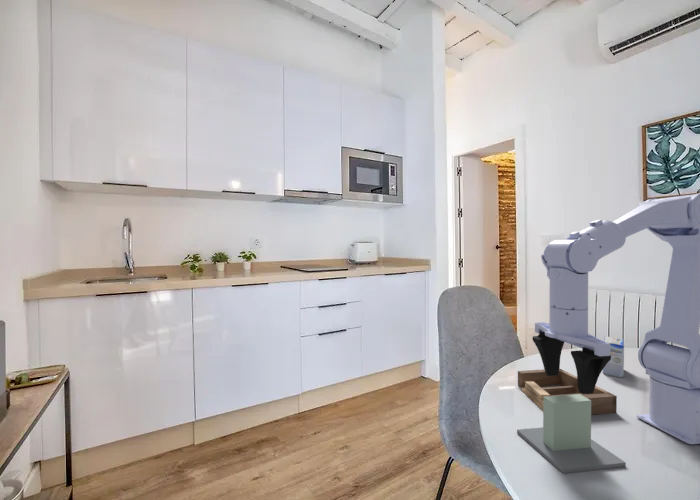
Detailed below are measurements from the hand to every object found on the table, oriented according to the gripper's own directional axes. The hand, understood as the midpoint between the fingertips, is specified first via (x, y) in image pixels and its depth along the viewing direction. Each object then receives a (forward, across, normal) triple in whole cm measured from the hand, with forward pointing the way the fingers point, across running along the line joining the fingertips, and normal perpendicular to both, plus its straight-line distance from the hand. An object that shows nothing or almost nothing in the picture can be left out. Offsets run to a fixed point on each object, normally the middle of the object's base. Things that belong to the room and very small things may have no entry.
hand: (568, 383), depth 59 cm
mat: (+10, +2, -2) cm, 11 cm away
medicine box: (+11, -27, +38) cm, 48 cm away
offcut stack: (+11, -14, +6) cm, 19 cm away
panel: (+10, +2, -2) cm, 10 cm away
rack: (+10, -15, +12) cm, 22 cm away
